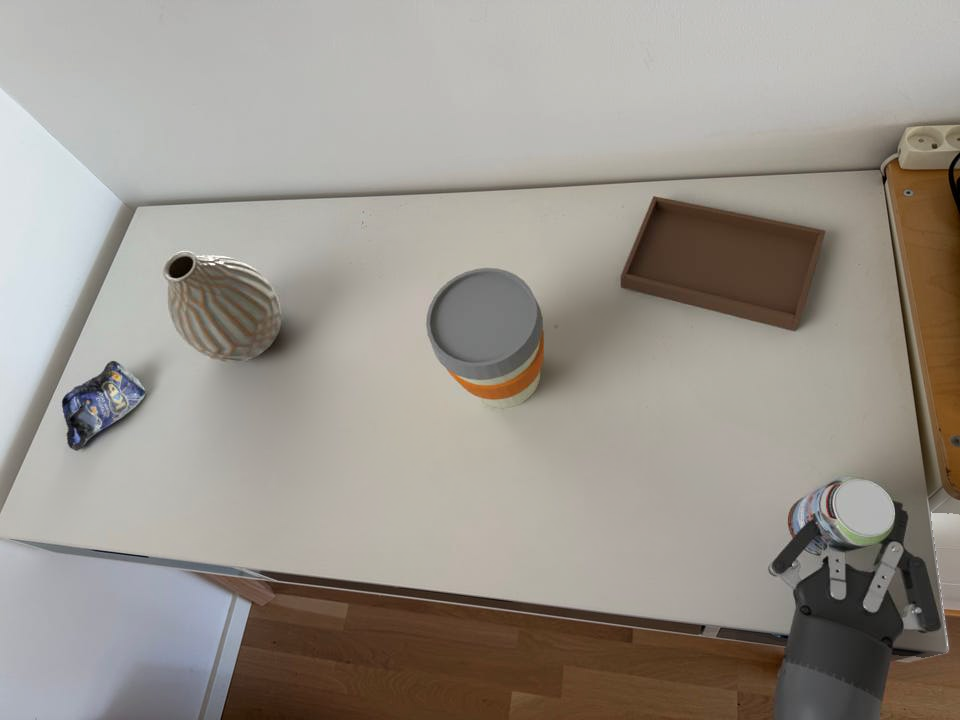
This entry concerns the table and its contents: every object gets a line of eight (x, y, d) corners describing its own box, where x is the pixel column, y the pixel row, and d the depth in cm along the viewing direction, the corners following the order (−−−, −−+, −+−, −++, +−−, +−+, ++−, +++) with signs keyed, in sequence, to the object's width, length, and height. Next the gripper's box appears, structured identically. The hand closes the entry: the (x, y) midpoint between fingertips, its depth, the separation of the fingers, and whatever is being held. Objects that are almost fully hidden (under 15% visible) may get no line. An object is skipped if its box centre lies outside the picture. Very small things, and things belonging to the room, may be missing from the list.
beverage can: (794, 490, 69) (818, 452, 58) (871, 518, 66) (910, 483, 55) (777, 545, 67) (798, 516, 56) (856, 577, 64) (893, 552, 53)
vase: (284, 281, 96) (218, 205, 81) (307, 350, 90) (240, 281, 74) (204, 320, 96) (123, 251, 81) (221, 392, 90) (137, 331, 74)
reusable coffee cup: (551, 423, 78) (534, 370, 65) (450, 420, 81) (414, 367, 68) (558, 331, 83) (544, 264, 70) (463, 331, 86) (432, 266, 73)
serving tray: (820, 243, 81) (826, 230, 79) (794, 331, 77) (799, 320, 74) (652, 208, 88) (653, 195, 86) (620, 287, 84) (620, 276, 82)
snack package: (133, 451, 88) (155, 372, 93) (92, 437, 83) (118, 354, 88) (71, 456, 93) (95, 380, 97) (28, 443, 87) (56, 363, 92)
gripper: (944, 728, 49) (978, 514, 54) (748, 645, 54) (799, 457, 59) (908, 724, 55) (941, 533, 61) (736, 650, 60) (782, 480, 66)
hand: (871, 496), depth 60 cm, fingers closed on beverage can, 3 cm apart
